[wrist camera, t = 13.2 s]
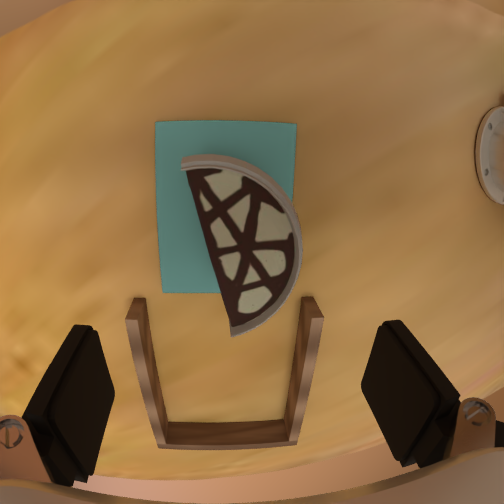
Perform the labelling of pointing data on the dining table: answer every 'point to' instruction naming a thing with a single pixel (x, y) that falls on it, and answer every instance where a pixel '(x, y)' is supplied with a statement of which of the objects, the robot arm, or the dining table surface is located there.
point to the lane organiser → (236, 432)
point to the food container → (246, 236)
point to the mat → (180, 196)
